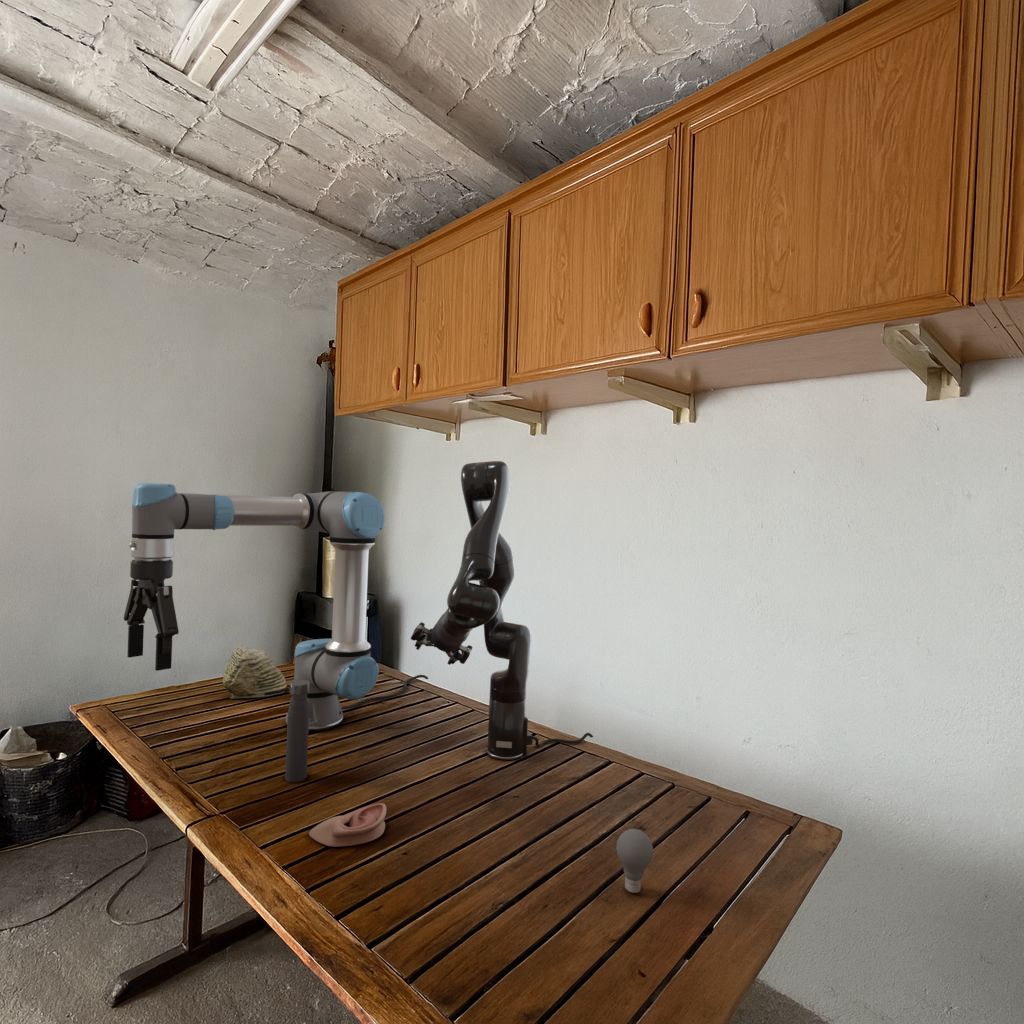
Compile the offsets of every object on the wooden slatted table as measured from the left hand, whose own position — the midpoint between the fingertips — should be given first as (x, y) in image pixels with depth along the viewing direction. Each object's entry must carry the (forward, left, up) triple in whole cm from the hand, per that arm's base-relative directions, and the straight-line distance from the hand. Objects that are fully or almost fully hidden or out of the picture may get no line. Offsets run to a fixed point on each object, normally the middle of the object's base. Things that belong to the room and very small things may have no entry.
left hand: (148, 662), depth 129 cm
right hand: (-55, +26, -2) cm, 61 cm away
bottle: (-26, +13, -28) cm, 41 cm away
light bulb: (-41, +90, -28) cm, 103 cm away
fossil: (-50, -47, -28) cm, 74 cm away
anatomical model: (-20, +41, -28) cm, 53 cm away
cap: (-26, +13, -7) cm, 30 cm away
